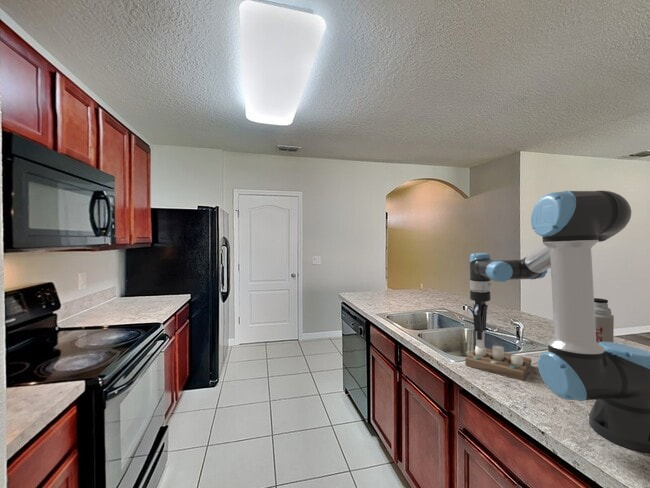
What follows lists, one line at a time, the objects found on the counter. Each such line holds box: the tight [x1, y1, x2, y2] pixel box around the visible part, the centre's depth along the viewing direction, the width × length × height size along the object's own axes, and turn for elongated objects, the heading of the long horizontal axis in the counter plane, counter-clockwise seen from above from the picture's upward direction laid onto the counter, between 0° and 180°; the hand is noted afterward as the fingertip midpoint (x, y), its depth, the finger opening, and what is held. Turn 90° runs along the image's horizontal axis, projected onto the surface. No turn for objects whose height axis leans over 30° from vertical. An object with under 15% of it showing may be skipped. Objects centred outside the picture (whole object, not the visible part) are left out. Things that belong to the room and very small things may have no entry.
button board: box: [464, 348, 532, 381], centre depth 123 cm, size 16×20×3 cm
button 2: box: [491, 344, 505, 361], centre depth 123 cm, size 4×4×5 cm
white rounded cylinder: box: [474, 345, 487, 358], centre depth 128 cm, size 4×4×5 cm
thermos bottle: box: [594, 297, 615, 343], centre depth 114 cm, size 8×8×28 cm
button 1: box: [511, 354, 524, 366], centre depth 119 cm, size 4×4×5 cm
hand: (480, 346), depth 128 cm, fingers closed
